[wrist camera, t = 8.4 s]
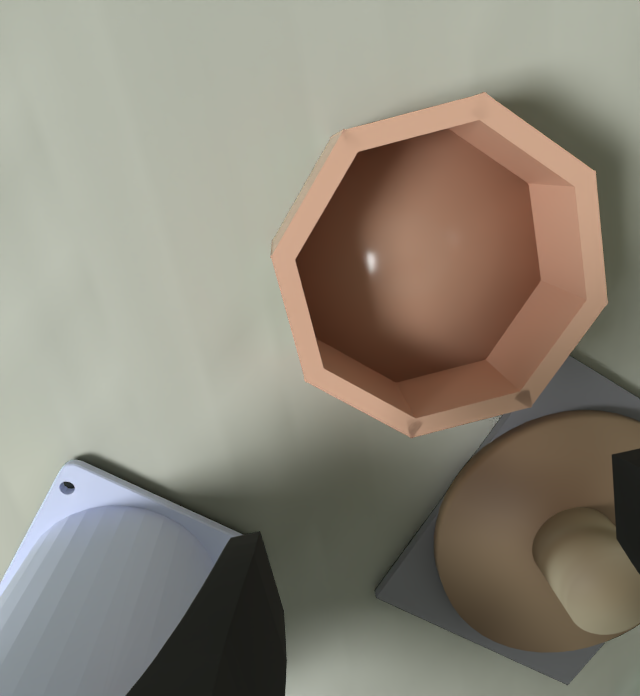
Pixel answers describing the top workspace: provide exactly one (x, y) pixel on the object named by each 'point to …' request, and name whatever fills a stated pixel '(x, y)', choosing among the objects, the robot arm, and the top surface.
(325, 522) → the top surface
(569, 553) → the lid
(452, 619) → the mat
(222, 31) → the top surface
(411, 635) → the top surface
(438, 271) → the bowl
